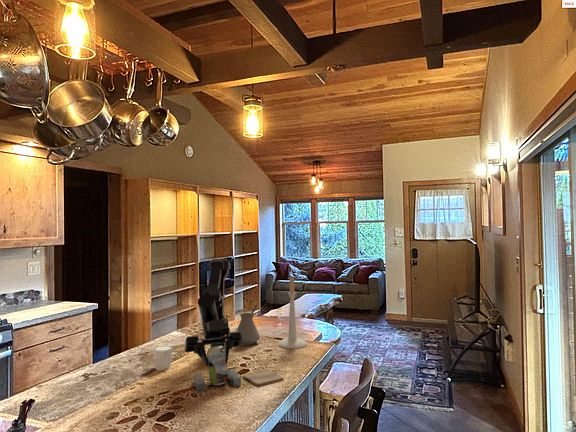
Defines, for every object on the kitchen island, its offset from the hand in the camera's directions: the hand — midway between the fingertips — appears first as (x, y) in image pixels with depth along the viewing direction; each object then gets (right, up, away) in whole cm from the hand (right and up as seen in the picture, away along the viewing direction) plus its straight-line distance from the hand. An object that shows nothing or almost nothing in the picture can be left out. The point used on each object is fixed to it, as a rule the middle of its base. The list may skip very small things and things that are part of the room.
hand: (217, 364), depth 129 cm
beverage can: (0, -7, +1) cm, 7 cm away
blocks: (0, -7, +1) cm, 7 cm away
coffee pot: (+6, -10, +55) cm, 56 cm away
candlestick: (+25, -9, +47) cm, 54 cm away
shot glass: (-24, -8, +18) cm, 31 cm away
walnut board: (+15, -7, +5) cm, 17 cm away
